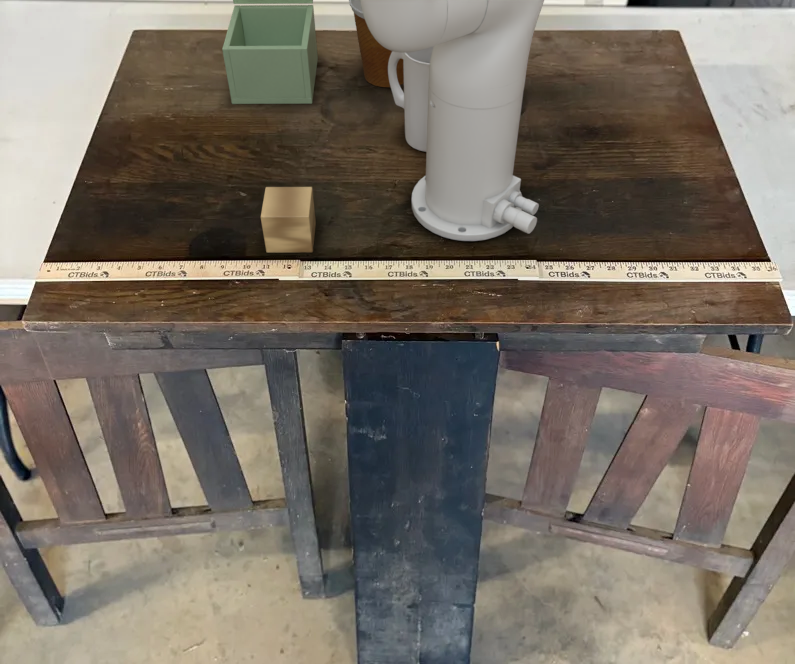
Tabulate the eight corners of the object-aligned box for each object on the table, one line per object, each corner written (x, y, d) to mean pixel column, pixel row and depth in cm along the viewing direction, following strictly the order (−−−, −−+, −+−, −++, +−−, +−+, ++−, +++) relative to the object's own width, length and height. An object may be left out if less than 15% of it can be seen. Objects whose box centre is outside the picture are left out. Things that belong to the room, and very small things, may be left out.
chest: (312, 103, 105) (307, 48, 99) (231, 104, 105) (222, 49, 99) (317, 58, 113) (313, 4, 107) (242, 58, 113) (234, 5, 107)
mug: (468, 136, 100) (474, 46, 91) (434, 160, 97) (437, 70, 88) (406, 107, 105) (406, 19, 96) (372, 130, 101) (369, 41, 92)
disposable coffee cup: (348, 92, 107) (343, 5, 98) (356, 56, 113) (353, -29, 104) (419, 95, 106) (421, 8, 97) (423, 58, 113) (425, -27, 104)
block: (315, 222, 89) (312, 186, 85) (312, 252, 86) (308, 216, 82) (271, 222, 89) (265, 186, 85) (266, 252, 86) (260, 217, 82)
